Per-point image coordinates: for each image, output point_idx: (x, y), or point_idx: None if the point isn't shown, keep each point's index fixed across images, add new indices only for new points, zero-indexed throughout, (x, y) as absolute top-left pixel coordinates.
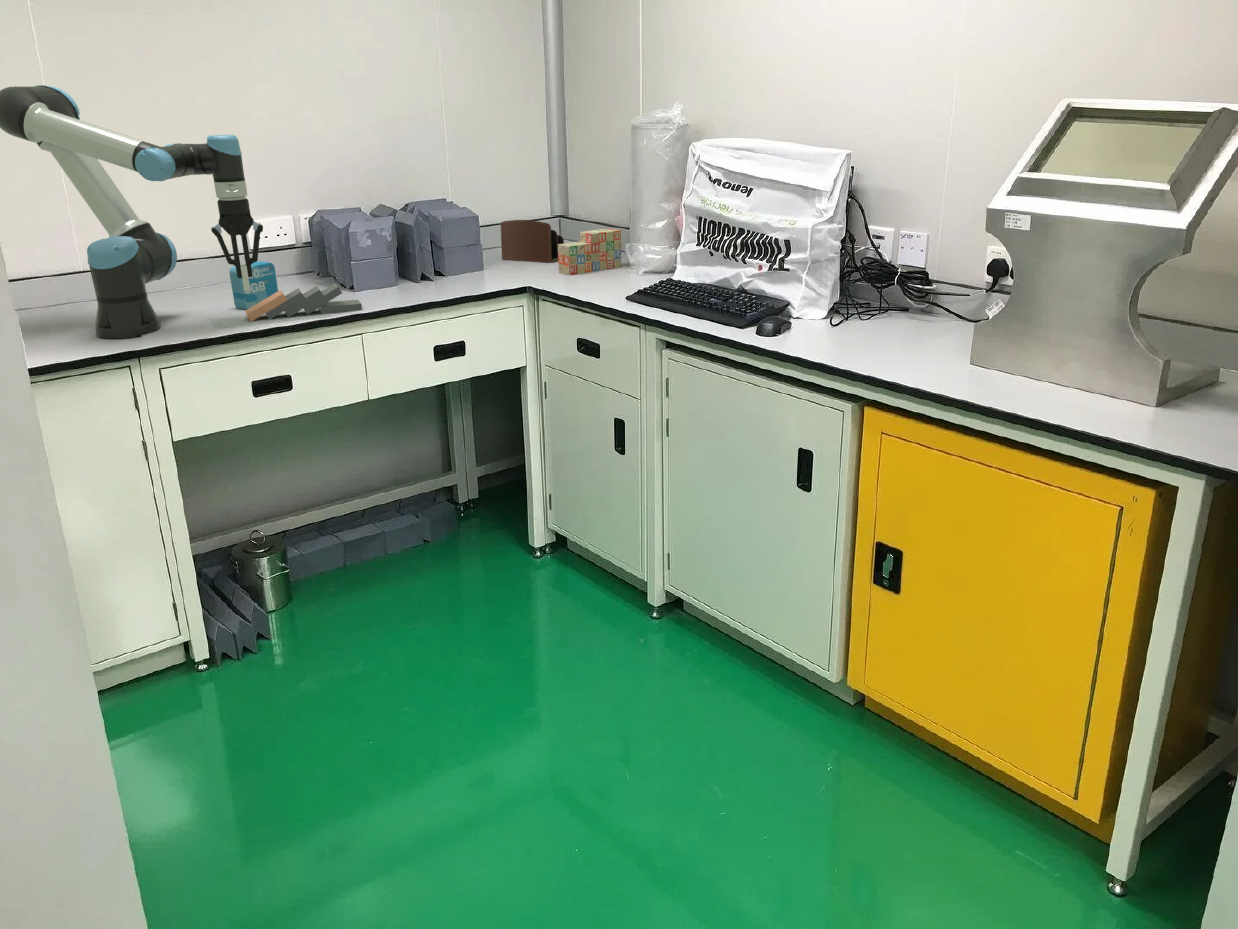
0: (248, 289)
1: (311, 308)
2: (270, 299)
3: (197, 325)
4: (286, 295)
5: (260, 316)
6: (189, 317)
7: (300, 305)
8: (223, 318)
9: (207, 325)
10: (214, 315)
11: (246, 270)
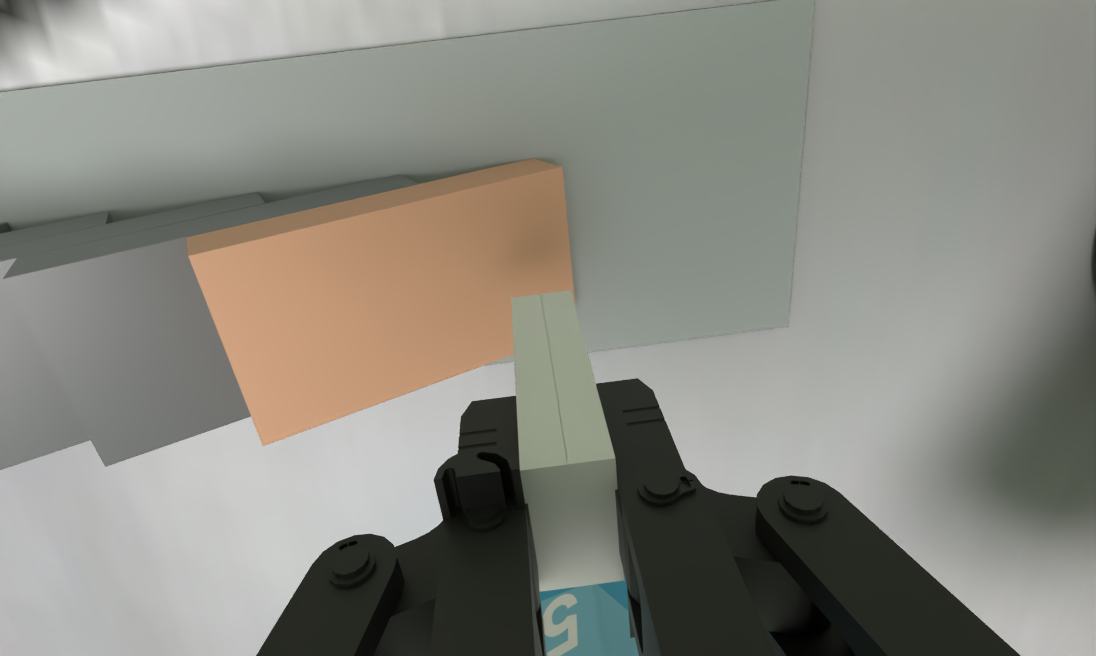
0: (529, 300)
1: (41, 230)
2: (350, 284)
3: (881, 226)
4: (237, 407)
5: None
6: (882, 450)
7: (109, 231)
8: (713, 329)
9: (823, 201)
10: (750, 455)
11: (529, 424)
